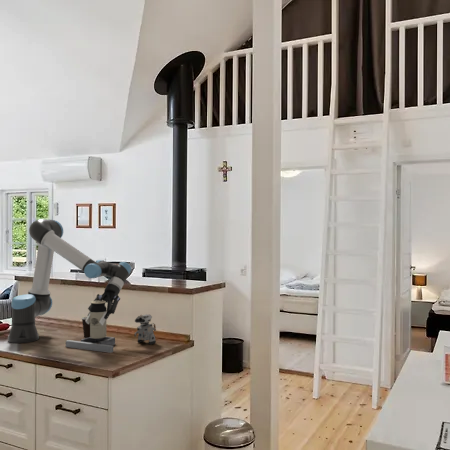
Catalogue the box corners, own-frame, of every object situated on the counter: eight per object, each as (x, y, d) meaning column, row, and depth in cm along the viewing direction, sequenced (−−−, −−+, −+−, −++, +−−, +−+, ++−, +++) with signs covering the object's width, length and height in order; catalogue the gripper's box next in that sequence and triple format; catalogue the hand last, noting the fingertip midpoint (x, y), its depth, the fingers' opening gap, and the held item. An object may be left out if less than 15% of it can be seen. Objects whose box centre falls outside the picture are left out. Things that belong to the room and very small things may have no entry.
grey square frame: (79, 347, 249) (79, 340, 249) (95, 342, 261) (95, 335, 261) (99, 349, 244) (99, 342, 244) (115, 344, 255) (115, 337, 255)
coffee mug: (88, 338, 269) (88, 320, 269) (78, 336, 274) (78, 318, 274) (105, 334, 278) (105, 317, 278) (95, 332, 283) (95, 315, 283)
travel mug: (98, 334, 258) (98, 300, 258) (109, 336, 254) (109, 301, 254) (86, 337, 251) (86, 302, 251) (98, 339, 247) (98, 303, 247)
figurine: (129, 345, 254) (129, 315, 254) (144, 340, 264) (144, 312, 264) (143, 347, 249) (143, 317, 249) (158, 342, 259) (158, 314, 259)
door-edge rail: (65, 346, 250) (65, 340, 250) (68, 345, 252) (68, 340, 252) (110, 352, 238) (110, 346, 238) (113, 351, 240) (113, 345, 240)
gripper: (133, 292, 262) (114, 329, 247) (101, 290, 271) (81, 325, 256) (127, 283, 257) (107, 320, 243) (95, 282, 266) (74, 317, 251)
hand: (93, 323), depth 249 cm, fingers closed on travel mug, 8 cm apart
